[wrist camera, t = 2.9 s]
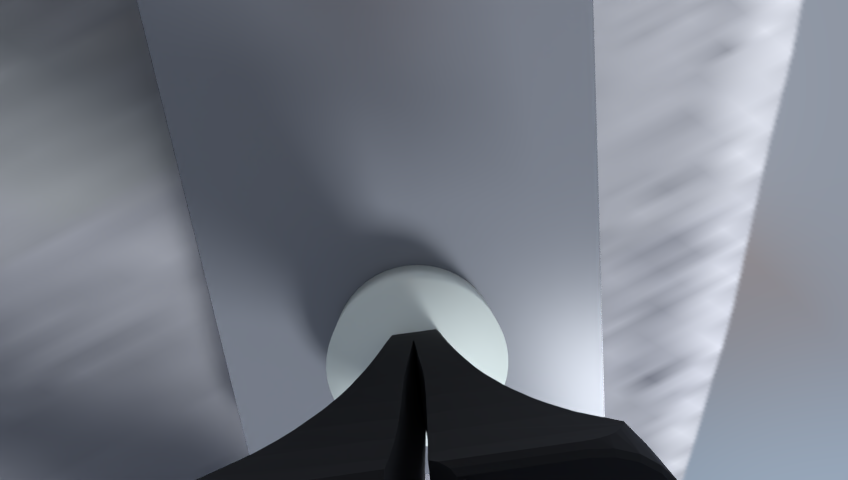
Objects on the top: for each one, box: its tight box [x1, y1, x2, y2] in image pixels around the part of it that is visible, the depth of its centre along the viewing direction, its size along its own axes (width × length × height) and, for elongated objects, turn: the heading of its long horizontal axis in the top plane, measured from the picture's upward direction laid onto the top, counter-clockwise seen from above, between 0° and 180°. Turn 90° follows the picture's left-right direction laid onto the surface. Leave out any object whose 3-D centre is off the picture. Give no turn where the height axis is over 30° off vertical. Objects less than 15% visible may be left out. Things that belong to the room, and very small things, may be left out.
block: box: [137, 0, 605, 474], centre depth 13 cm, size 22×12×3 cm, turn 7°
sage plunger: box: [326, 265, 508, 446], centre depth 13 cm, size 5×5×4 cm
